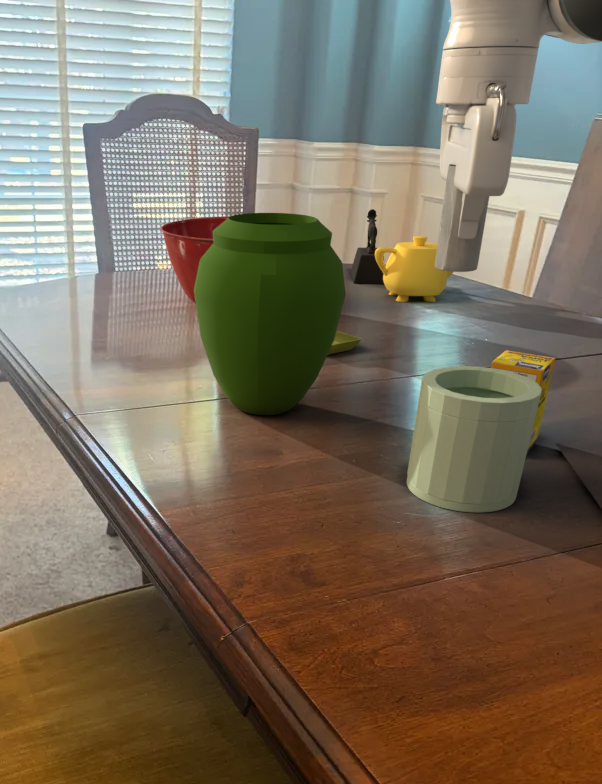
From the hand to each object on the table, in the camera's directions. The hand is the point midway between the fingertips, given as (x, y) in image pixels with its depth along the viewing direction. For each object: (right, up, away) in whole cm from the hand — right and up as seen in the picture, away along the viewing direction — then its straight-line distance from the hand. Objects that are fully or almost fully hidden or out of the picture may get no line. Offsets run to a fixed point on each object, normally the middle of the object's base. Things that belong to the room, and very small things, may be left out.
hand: (461, 233), depth 83 cm
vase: (-19, -15, +24) cm, 34 cm away
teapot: (+19, +19, +84) cm, 88 cm away
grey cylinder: (0, -3, +2) cm, 4 cm away
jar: (+1, -27, +2) cm, 27 cm away
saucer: (-7, 0, +49) cm, 50 cm away
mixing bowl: (-22, +15, +76) cm, 81 cm away
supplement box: (+10, -21, +13) cm, 27 cm away
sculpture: (+12, +29, +101) cm, 106 cm away
